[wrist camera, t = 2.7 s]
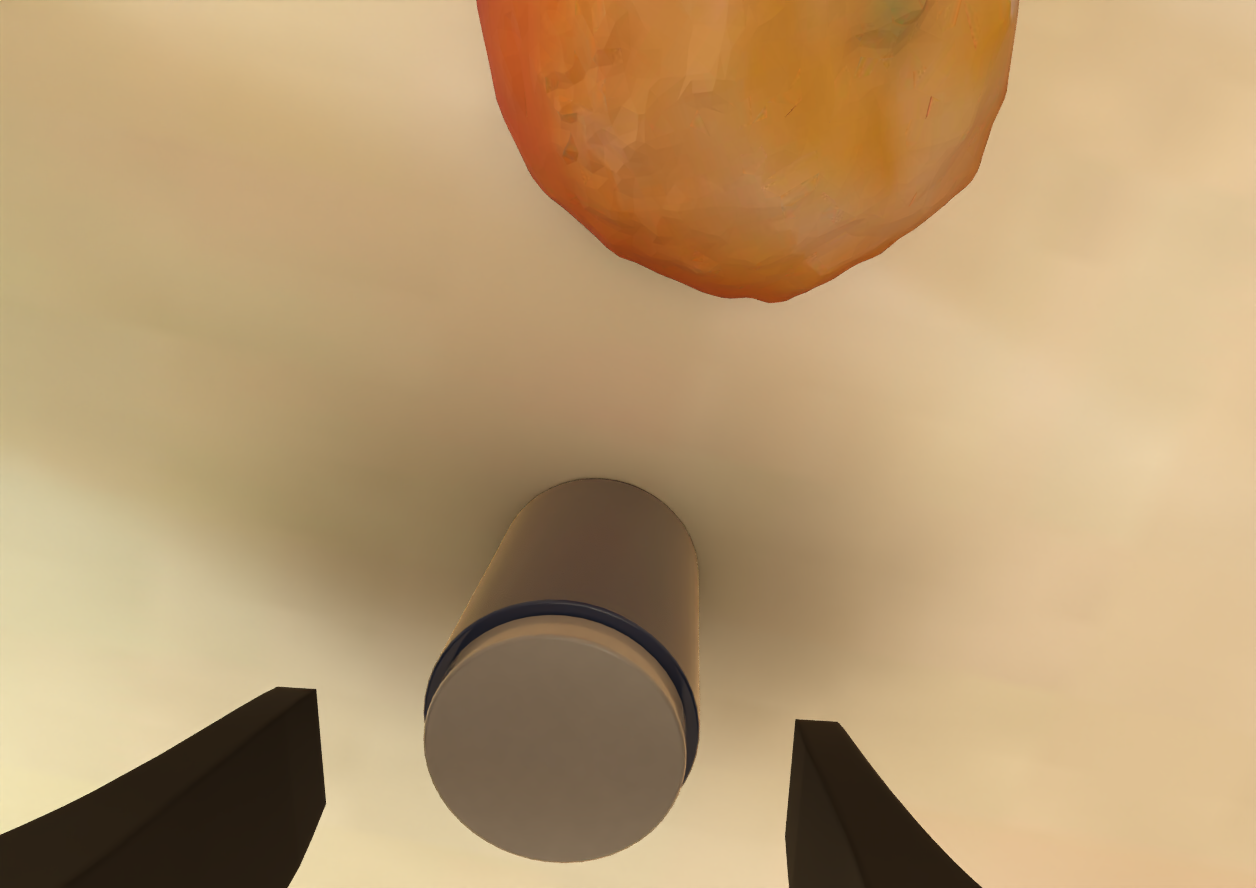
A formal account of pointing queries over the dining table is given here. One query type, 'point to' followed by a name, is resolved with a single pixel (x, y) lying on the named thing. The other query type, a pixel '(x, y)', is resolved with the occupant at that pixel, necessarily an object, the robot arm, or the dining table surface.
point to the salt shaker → (572, 678)
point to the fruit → (750, 125)
